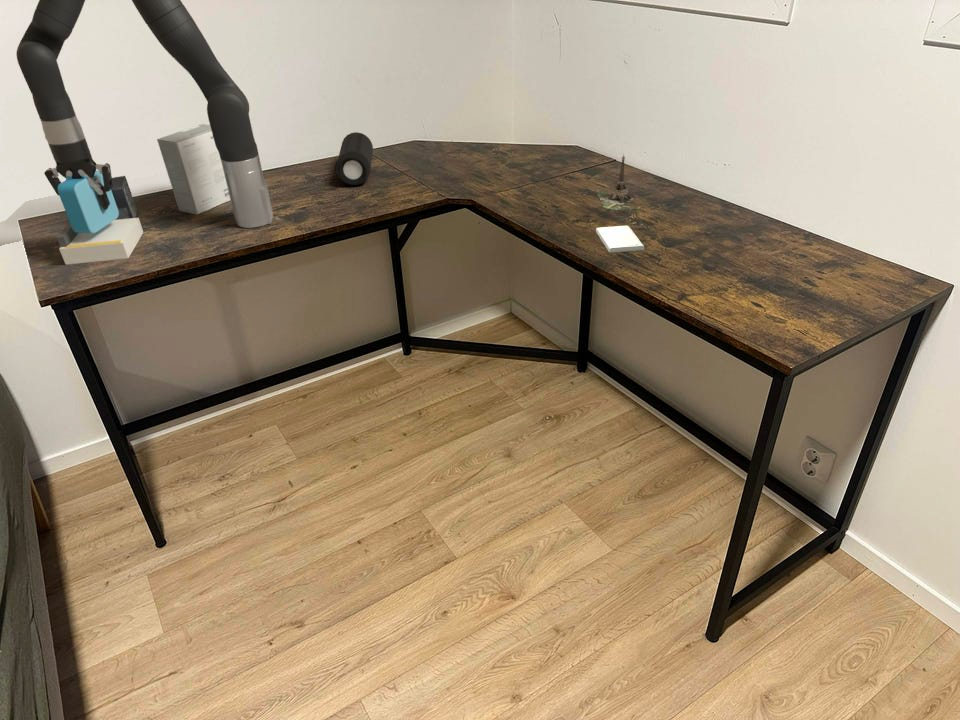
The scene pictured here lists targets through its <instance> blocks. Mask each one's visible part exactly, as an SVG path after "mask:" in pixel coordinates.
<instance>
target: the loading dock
mask: <svg viewBox="0 0 960 720" xmlns="http://www.w3.org/2000/svg"><path fill="white" fill-rule="evenodd" d="M141 223H142V222H141V221H140V217H137V218H130V219H119V220H114V221H112V222H111V223H109V224H108V225H106V226H105V227H103V228H102V229H100V230H99V231H97V232H96V233H76V232H74V231H73V229H72V226H71V224H70V221H69V222H68V224H67V225H66V226H65V227H64V228H63V229H62V230H61V231H60V233H59V234H58V235H57V236H56V240H57V242H58V245H59V251H60V254H61V256H62V259H63V261H64V264H65V265H76V264H86V263H96V262H106V261H117V260H126V259H129V257H130V256H131V254H132V253H133V251H134V249H136V248H135V247H136V246H137V244H138V243H139V241H140V239H141V238H142V236H143V234H144V230H143V227H142V224H141Z"/></svg>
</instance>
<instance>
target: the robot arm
mask: <svg viewBox="0 0 960 720" xmlns="http://www.w3.org/2000/svg"><path fill="white" fill-rule="evenodd" d="M131 1H132V4H133V5H134V7H135V8H136V10H137V11H138V13H139V15H140V17H141V18H142V20H143V21H144V23H145V24H146V25H147V27H148V28H149V30H150V31H151V33H152V34H153V36H154V37H155V38H156V40H157V41H158V42H159V44H160V45H161V46H162V48H164V50H165V51H166V52H167V53H168V54H169V55H170V56H171V57H172V58H173V59H174V60H175V61H176V62H177V63H178V64H179V65H180V66H181V67H182V68H183V69H185V71H186V72H187V73H188V74H189V75H190V77H192V79H193V80H194V82H195V83H196V85H197V86H198V88H199V89H200V92H201V93H202V95H203V97H205V98H204V99H205V100H206V102H207V105H206V112H207V118H208V122H209V125H210V126H211V130H212V134H213V138H214V141H215V145H216V148H217V150H218V152H219V155H220V159H221V163H222V167H223V171H224V175H225V179H226V183H227V187H228V191H229V195H230V199H231V200H230V204H231V206H232V211H233V215H234V219H235V223H236V225H237V226H238V227H241V228H245V229H246V228H247V229H248V228H249V229H250V228H257V227H262V226H265V225H269V224H270V225H271V224H272V223H273V218H274V212H273V209H272V203H271V198H270V195H269V189H268V185H267V181H266V180H265V177H264V173H263V168H262V164H261V159H260V155H259V154H260V153H259V150H258V145H257V143H256V141H255V137H254V132H253V127H252V123H251V119H250V104H249V101H248V98H247V96H246V95H245V93H244V92H243V91H242V90H241V88H240V87H239V86H238V85H237V84H236V82H235V81H234V79H232V78H231V77H230V74H228V72H227V71H226V69H225V68H224V67H223V66H222V65H221V63H220V62H219V61H218V59H217V56H216V55H215V54H214V52H213V50H212V48H211V47H210V45H209V43H208V42H207V39H206V38H205V37H204V35H203V33H202V32H201V30H200V28H199V27H198V25H197V23H196V21H195V20H194V19H193V17H192V15H191V13H190V12H189V11H188V9H187V8H186V6H185V4H184V3H183V2H182V0H131ZM85 2H86V0H38V3H37V4H36V7H35V9H34V12H33V15H32V20H31V22H30V23H29V25H28V27H27V29H26V31H24V33H23V36H22V38H21V40H20V42H19V43H18V45H17V48H16V53H15V54H16V59H17V64H18V66H19V69H20V71H21V73H22V76H23V78H24V80H25V82H26V85H27V86H28V89H29V91H30V93H31V95H32V100H33V104H34V107H35V109H36V111H37V115H38V117H39V120H40V122H41V126H42V131H43V134H44V138H45V140H46V141H47V144H48V146H49V149H50V152H51V154H52V157H53V159H54V161H55V167H53V168H52V167H48V168H47V169H46V170H45V171H44V173H43V174H44V175H45V178H46V179H47V181H48V183H49V185H50V186H51V187H52V188H53V189H52V190H54V192H55V193H56V195H57V196H59V193H58V185H59V184H60V183H62V181H61V180H60V178H59V175H61V177H63V178H65V180H72V179H78V178H84V179H87V178H88V179H87V181H88V184H89V185H90V186H91V187H93V188H94V189H95V191H96V192H97V193H98V194H99V195H98V197H99V200H100V203H101V206H102V208H103V210H107V209H108V206H109V205H110V202H109V199H108V196H107V193H106V192H108V191H110V190H111V189H112V187H113V183H112V178H113V176H112V170H111V165H110V164H109V163H105V164H101V163H96V161H94V159H93V156H92V154H91V149H90V148H89V145H88V142H87V139H86V136H85V133H84V131H83V128H82V125H81V123H80V121H79V119H78V117H77V113H76V111H75V109H74V106H73V102H72V100H71V98H70V96H69V94H68V92H67V91H66V87H65V84H64V80H63V77H62V74H61V71H60V67H59V64H58V57H59V56H60V54H61V50H62V49H63V46H64V45H65V41H66V40H67V39H69V37H70V36H71V35H72V32H73V31H74V28H75V26H76V23H77V22H78V20H79V17H80V15H81V13H82V10H83V8H84V5H85ZM96 171H99V172H100V174H102V175H103V182H104V186H103V185H102V184H101V182H100V180H99V179H98V177H97V176H95V177H96V180H95V181H93V180H92V178H93V177H94V174H95V172H96Z"/></svg>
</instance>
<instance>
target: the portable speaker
mask: <svg viewBox="0 0 960 720" xmlns="http://www.w3.org/2000/svg"><path fill="white" fill-rule="evenodd" d="M373 152H374V147H373V143H372V141H371V139H370V138H369V137H368V136H367V135H366V134H364V133H361V132H358V131H356V132H355V131H354V132H351V133H348V134H346V136H345V137H343V140H342V142H341V145H340V150H339V153H338V156H337V161H336V163H335V171H336V174H337V177H339V179H340V180H341V181H342V182H343V183H345V184H347V185H349V186H358V185H362V184H363V183H364V182H366V181H367V180H368V178H369V176H370V173H371V169H372V168H371V167H372V162H373V161H372V160H373V154H374V153H373Z"/></svg>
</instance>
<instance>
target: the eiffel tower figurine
mask: <svg viewBox="0 0 960 720" xmlns="http://www.w3.org/2000/svg"><path fill="white" fill-rule="evenodd" d="M625 159H626V157H625V154H623V155H622V157H621V166H620V172H619V176H618V180H617V184H616V185H615V188H614V189H613V191H612V193H611V194H610V195H609V196H608V197H605V195H607V194H608V192H607V191H606V190H596V191H595V192H596V195H597V197H598V199H599V201H600V205H601V207H602V208H605V209H608V210H614V211H615V210H620V211H623V210H624V211H625V210H626V211H627V210H640V209H642V208H641V206H630V205H629V206H628V205H627V204H628V203H630V202H632V201H634V200H635V199H634V198H633V197H632V195H631V194H630V192H629V190H628V188H627V185H626V180H625ZM625 195H626V196H625Z"/></svg>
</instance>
